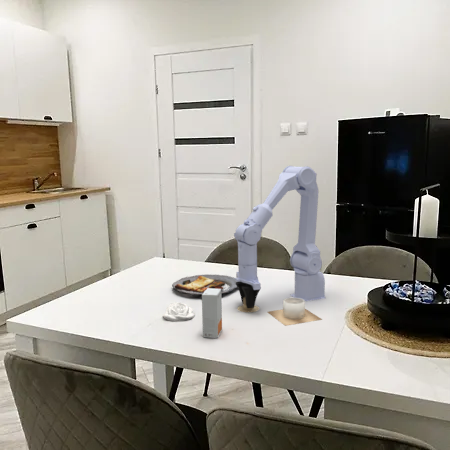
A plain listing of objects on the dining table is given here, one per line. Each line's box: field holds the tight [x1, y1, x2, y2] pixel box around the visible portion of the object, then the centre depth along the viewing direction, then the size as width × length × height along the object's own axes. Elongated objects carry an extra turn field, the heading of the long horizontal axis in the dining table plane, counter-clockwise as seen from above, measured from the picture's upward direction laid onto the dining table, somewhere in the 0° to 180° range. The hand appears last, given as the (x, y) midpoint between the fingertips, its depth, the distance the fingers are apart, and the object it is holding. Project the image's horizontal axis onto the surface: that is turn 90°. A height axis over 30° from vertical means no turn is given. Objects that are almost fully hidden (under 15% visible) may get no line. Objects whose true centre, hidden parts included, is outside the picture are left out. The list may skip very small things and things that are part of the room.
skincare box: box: [201, 288, 223, 339], centre depth 123 cm, size 6×4×12 cm
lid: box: [236, 297, 260, 313], centre depth 141 cm, size 7×7×4 cm
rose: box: [162, 301, 196, 322], centre depth 137 cm, size 10×4×10 cm
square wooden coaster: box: [267, 308, 323, 327], centre depth 134 cm, size 12×12×1 cm
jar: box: [282, 296, 306, 319], centre depth 134 cm, size 6×6×4 cm
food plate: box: [171, 274, 240, 296], centre depth 164 cm, size 25×23×4 cm
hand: (248, 305), depth 141 cm, fingers open, 3 cm apart
